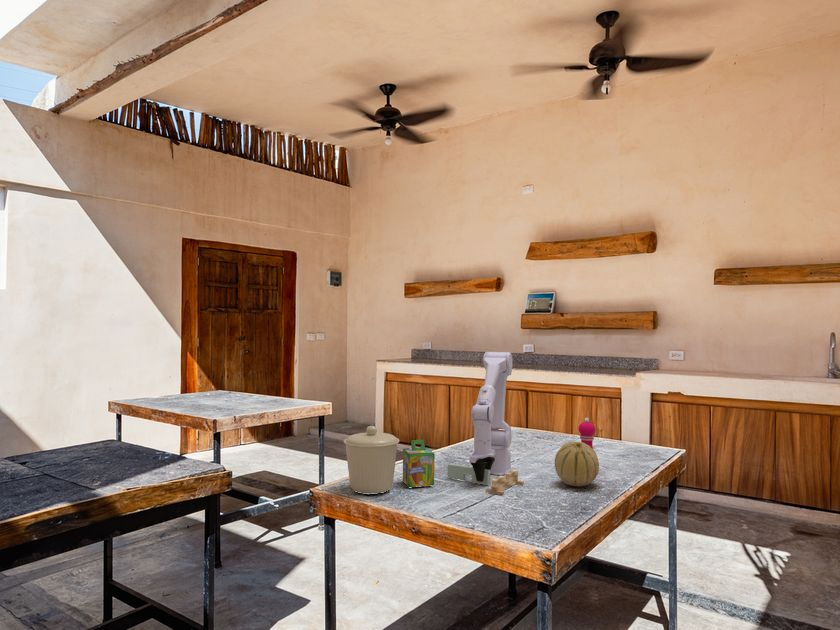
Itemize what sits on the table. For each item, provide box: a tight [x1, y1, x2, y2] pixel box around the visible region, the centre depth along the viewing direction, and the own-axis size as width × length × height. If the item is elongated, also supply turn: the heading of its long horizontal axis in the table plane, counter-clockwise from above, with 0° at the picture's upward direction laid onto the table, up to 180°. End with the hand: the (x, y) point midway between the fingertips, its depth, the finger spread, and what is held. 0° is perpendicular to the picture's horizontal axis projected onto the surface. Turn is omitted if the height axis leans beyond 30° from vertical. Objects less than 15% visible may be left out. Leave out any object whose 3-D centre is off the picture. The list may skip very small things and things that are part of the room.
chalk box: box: [402, 439, 436, 488], centre depth 193 cm, size 9×9×15 cm
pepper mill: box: [577, 417, 596, 450], centre depth 210 cm, size 7×7×20 cm
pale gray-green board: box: [447, 462, 491, 486], centre depth 197 cm, size 2×16×5 cm, turn 55°
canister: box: [343, 425, 400, 493], centre depth 186 cm, size 18×18×21 cm
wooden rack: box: [485, 469, 525, 496], centre depth 189 cm, size 16×6×4 cm, turn 145°
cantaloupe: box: [554, 441, 600, 488], centre depth 192 cm, size 15×15×15 cm
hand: (482, 480), depth 194 cm, fingers open, 3 cm apart
